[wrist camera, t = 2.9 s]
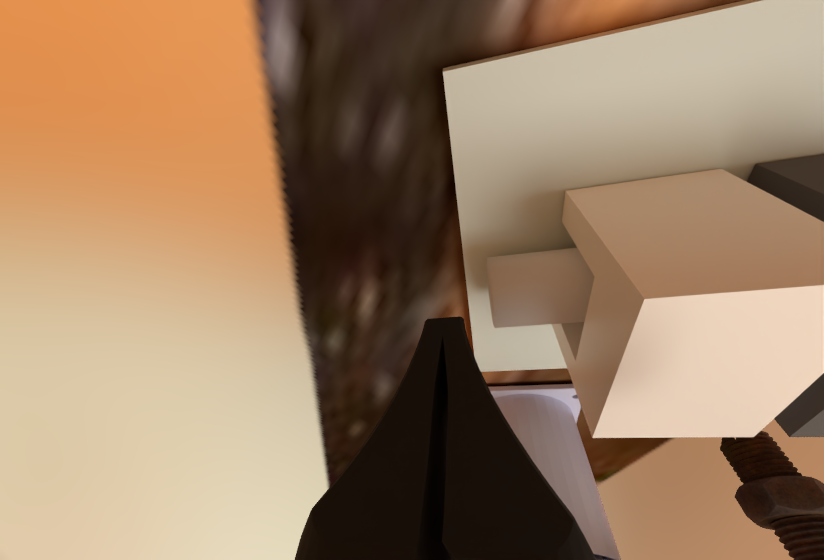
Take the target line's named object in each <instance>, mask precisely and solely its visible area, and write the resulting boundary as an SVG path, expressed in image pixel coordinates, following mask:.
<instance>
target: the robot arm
mask: <svg viewBox="0 0 824 560" xmlns="http://www.w3.org/2000/svg"><path fill="white" fill-rule="evenodd" d="M580 409H581V405H580V402H579V399H578V396H577V394H576V391H575V388H574V385H573V384H554V385H525V386H496V387H488V386H487V384H486V382H485V380H484V378H483V376H482V373H481V371H480V369H479V367H478V364H477V362H476V360H475V357H474V355H473V352H472V350H471V347H470V344H469V341H468V338H467V334H466V331H465V325H464V319H463V318H462V317H449V318H436V319H427V320H426V321H425V325H424V328H423V332H422V335H421V338H420V340H419V343H418V346H417V348H416V351H415V353H414V356H413V358H412V360H411V363H410V365H409V367H408V370H407V372H406V374H405V376H404V378H403V380H402V382H401V384H400V386H399V388H398V390H397V392H396V394H395V395H394V397H393V399H392V401H391V403H390V404H389V406H388V408H387V409H386V411H385V413H384V414H383V416H382V418H381V419H380V421H379V422H378V424H377V425H376V427H375V428H374V430H373V432H372V433H371V435H370V436H369V437H368V439H367V440H366V442H365V443H364V445H363V446H362V447H361V449H360V450H359V451H358V453H357V454H356V455H355V457H354V458H353V459H352V461H351V462H350V463H349V465H348V466H347V467H346V469H345V470H344V471H343V472H342V474H341V475H340V476H339V477H338V479H337V480H336V481H335V482H334V483H333V484H332V486H331V487H330V488H329V489H328V490H327V492H326V493H325V494H324V495H323V496H322V498H321V499H320V500H319V501H318V502H317V503H316V504H315V506H314V507H313V508H312V510H311V512H310V515H309V517H308V520H307V522H306V525H305V528H304V530H303V533H302V535H301V539H300V542H299V546H298V550H297V553H296V557H295V560H621V558H620V555H619V552H618V549H617V546H616V543H615V540H614V537H613V534H612V531H611V528H610V526H609V522H608V519H607V516H606V513H605V510H604V507H603V504H602V501H601V498H600V495H599V492H598V489H597V486H596V483H595V480H594V477H593V474H592V471H591V467H590V464H589V461H588V458H587V455H586V452H585V449H584V446H583V443H582V440H581V437H580V434H579V431H578V428H577V425H576V423H577V419H578V416H579V412H580Z"/></svg>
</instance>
